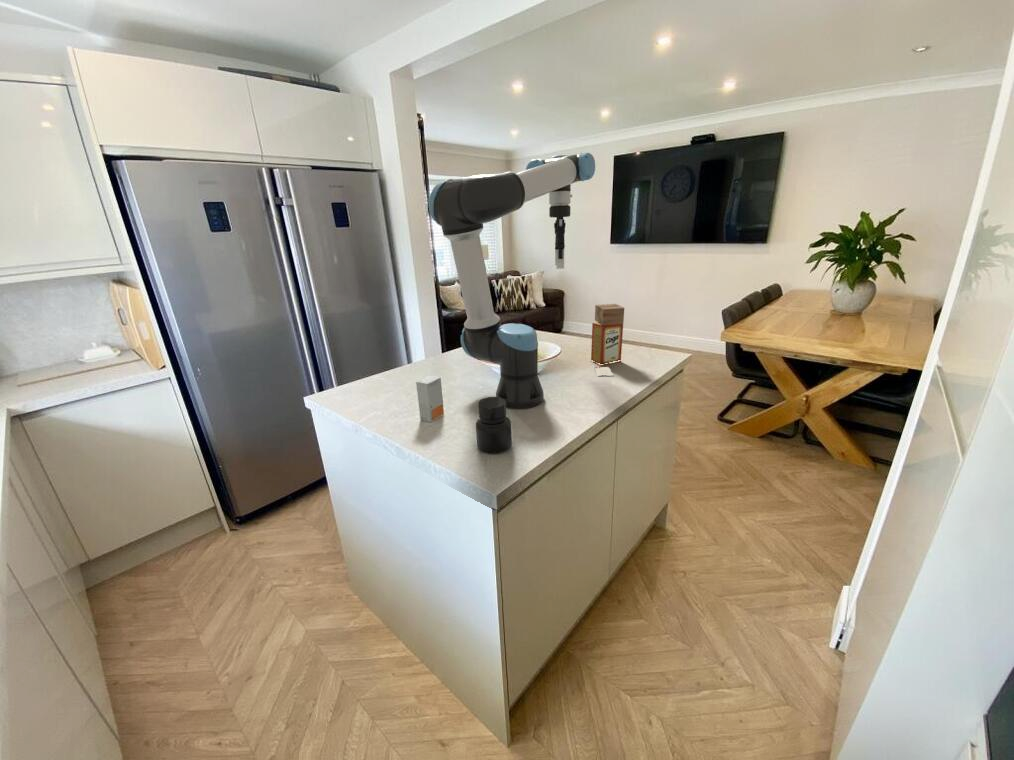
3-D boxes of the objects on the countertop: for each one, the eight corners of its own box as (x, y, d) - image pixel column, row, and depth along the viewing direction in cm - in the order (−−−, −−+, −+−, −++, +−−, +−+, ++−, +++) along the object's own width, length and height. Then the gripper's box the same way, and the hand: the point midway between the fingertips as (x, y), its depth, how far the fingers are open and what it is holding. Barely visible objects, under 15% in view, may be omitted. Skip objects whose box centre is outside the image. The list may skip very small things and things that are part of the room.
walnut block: (623, 323, 149) (624, 307, 147) (602, 325, 148) (603, 309, 146) (614, 318, 157) (615, 303, 155) (594, 320, 157) (595, 304, 154)
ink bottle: (514, 437, 104) (513, 394, 100) (513, 455, 96) (511, 409, 92) (477, 437, 105) (474, 395, 100) (473, 455, 97) (469, 410, 92)
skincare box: (431, 423, 113) (426, 384, 109) (420, 420, 116) (415, 381, 111) (445, 414, 118) (441, 377, 114) (434, 412, 120) (429, 374, 116)
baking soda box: (601, 365, 154) (603, 325, 148) (591, 361, 159) (592, 321, 154) (620, 361, 157) (623, 321, 152) (610, 357, 163) (612, 318, 157)
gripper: (573, 202, 130) (571, 269, 138) (568, 206, 153) (567, 263, 161) (550, 203, 131) (550, 270, 138) (548, 207, 154) (548, 264, 162)
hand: (559, 266), depth 150 cm, fingers open, 13 cm apart
